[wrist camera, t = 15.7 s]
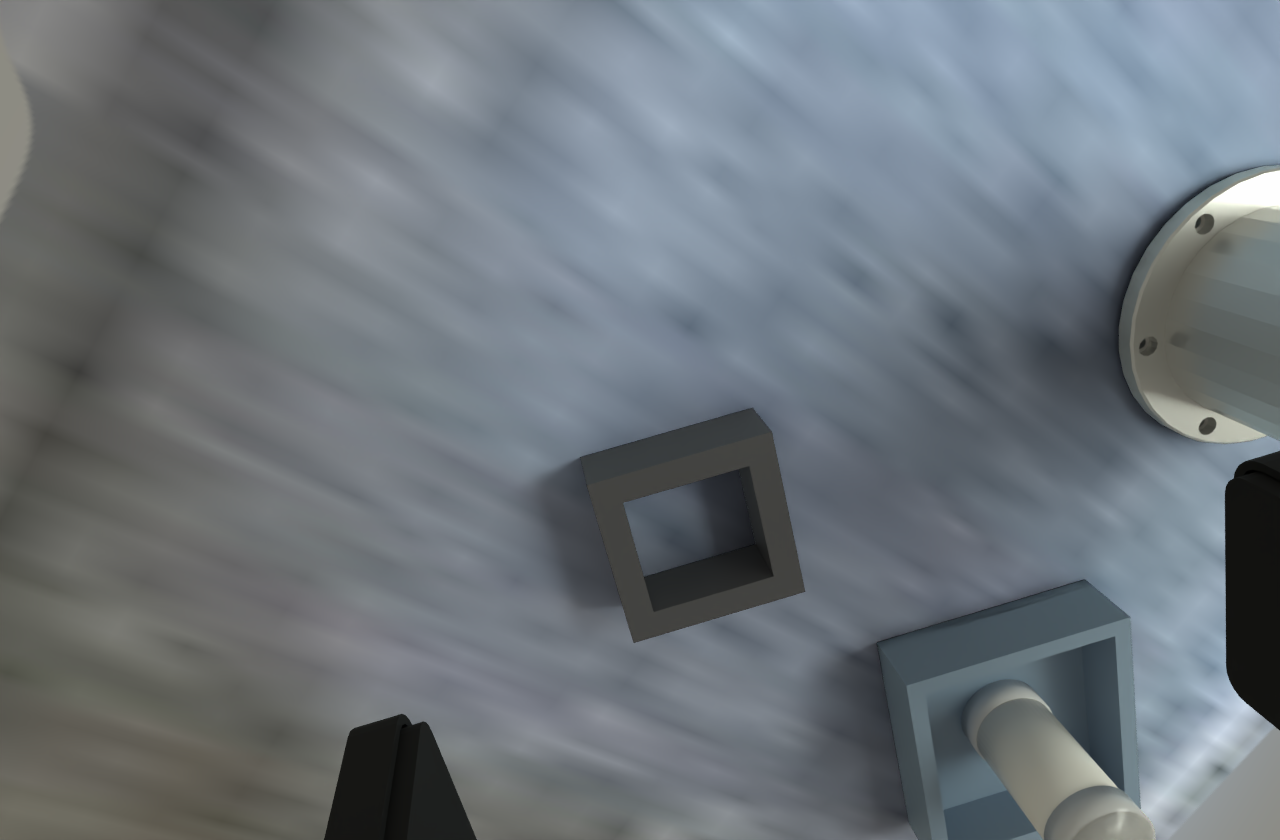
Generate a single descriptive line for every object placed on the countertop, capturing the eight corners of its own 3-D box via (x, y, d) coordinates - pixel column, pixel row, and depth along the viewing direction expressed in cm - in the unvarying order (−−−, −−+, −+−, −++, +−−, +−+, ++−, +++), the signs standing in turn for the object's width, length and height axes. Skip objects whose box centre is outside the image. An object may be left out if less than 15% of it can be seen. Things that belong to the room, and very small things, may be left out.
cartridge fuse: (1035, 669, 46) (1153, 797, 38) (1041, 733, 48) (1157, 870, 39) (956, 693, 46) (1058, 827, 38) (965, 757, 48) (1065, 899, 39)
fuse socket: (752, 407, 40) (771, 431, 37) (784, 559, 43) (805, 591, 40) (580, 457, 39) (586, 485, 37) (624, 606, 42) (633, 643, 39)
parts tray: (1085, 579, 46) (1130, 617, 42) (1098, 762, 50) (1140, 809, 47) (876, 642, 45) (906, 685, 42) (908, 822, 49) (937, 874, 46)
